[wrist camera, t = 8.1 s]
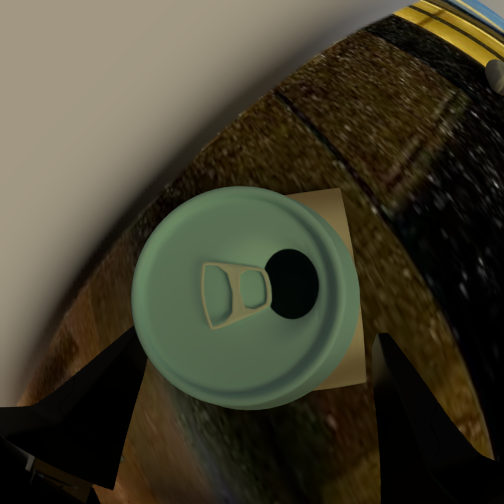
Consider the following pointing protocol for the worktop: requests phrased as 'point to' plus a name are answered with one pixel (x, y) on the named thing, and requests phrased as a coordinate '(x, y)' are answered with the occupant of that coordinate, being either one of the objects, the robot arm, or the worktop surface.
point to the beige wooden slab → (334, 214)
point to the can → (245, 298)
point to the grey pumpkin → (495, 75)
